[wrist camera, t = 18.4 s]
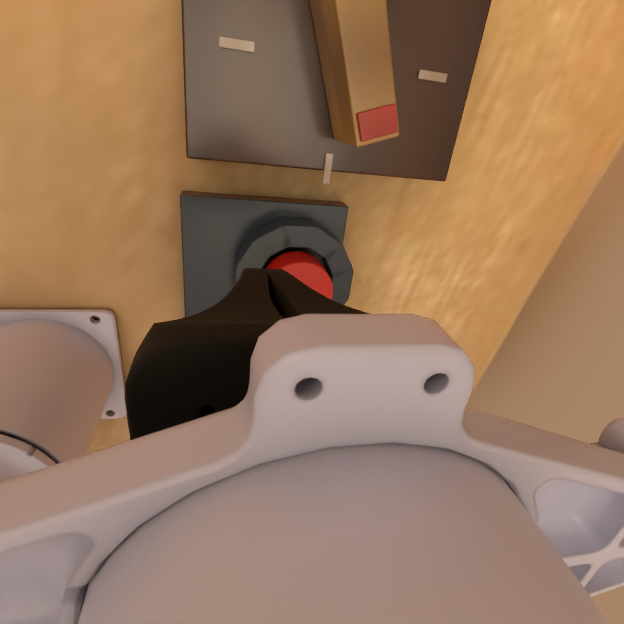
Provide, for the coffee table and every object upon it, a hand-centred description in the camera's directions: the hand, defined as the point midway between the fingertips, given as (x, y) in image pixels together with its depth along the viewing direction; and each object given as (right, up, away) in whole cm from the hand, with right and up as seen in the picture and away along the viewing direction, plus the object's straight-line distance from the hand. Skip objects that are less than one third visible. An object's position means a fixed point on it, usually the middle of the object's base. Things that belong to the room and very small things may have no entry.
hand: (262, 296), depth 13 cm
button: (+1, +1, +9) cm, 9 cm away
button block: (-1, +2, +10) cm, 11 cm away
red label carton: (+3, +10, +4) cm, 11 cm away
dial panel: (+2, +12, +6) cm, 13 cm away
